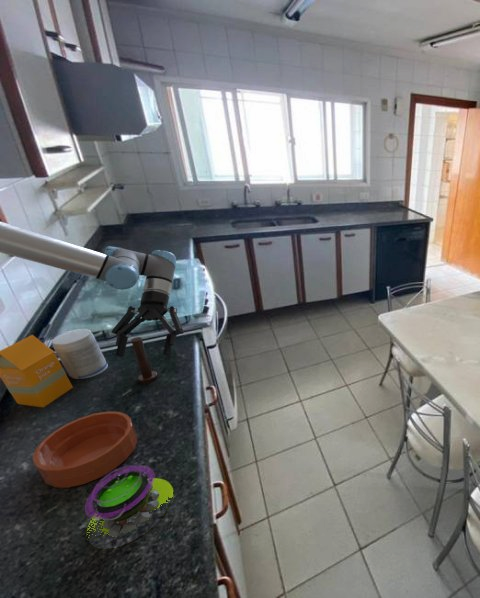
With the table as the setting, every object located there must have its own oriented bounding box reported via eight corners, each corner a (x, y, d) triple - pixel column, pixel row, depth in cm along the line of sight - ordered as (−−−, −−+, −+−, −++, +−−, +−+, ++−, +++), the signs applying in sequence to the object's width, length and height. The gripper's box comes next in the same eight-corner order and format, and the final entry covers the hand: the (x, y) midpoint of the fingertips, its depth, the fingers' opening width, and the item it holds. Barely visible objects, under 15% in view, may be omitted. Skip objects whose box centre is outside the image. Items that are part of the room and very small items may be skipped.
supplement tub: (115, 364, 114) (99, 328, 107) (94, 382, 106) (75, 344, 99) (86, 364, 113) (68, 328, 107) (62, 382, 105) (41, 344, 98)
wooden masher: (139, 379, 109) (125, 337, 102) (157, 373, 112) (145, 333, 105) (140, 387, 105) (126, 345, 99) (159, 381, 108) (146, 340, 102)
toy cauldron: (83, 509, 71) (61, 476, 66) (164, 466, 80) (151, 435, 75) (90, 569, 61) (65, 535, 56) (182, 512, 71) (167, 479, 66)
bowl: (49, 449, 83) (39, 430, 80) (136, 420, 93) (130, 402, 91) (38, 505, 71) (26, 485, 68) (140, 464, 81) (133, 445, 78)
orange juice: (20, 408, 94) (-18, 351, 85) (51, 387, 102) (20, 333, 93) (45, 410, 94) (11, 353, 85) (75, 389, 102) (46, 335, 93)
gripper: (200, 297, 118) (190, 356, 111) (122, 297, 114) (107, 358, 107) (191, 290, 111) (180, 352, 104) (108, 289, 107) (90, 354, 100)
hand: (143, 355), depth 105 cm, fingers open, 13 cm apart
